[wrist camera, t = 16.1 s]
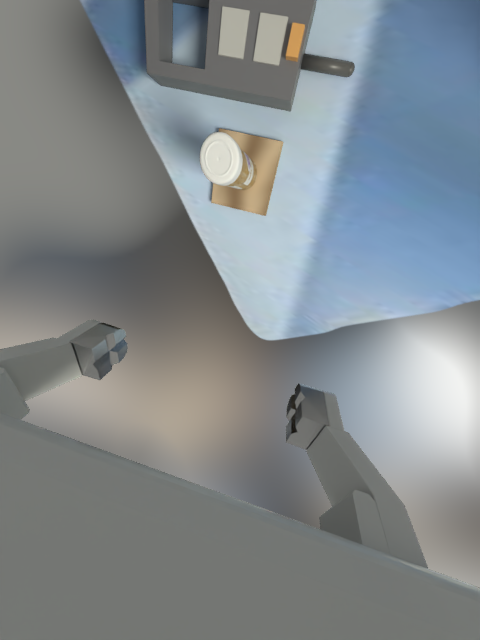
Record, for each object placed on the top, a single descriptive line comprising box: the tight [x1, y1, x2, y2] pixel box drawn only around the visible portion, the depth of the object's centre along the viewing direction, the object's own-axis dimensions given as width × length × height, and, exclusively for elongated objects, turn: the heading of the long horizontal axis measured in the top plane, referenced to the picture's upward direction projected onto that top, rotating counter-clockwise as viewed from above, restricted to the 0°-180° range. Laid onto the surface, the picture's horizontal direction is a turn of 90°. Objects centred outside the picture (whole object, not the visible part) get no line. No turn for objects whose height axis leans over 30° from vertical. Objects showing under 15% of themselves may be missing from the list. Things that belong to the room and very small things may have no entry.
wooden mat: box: [211, 128, 283, 216], centre depth 33 cm, size 10×10×1 cm
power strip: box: [144, 0, 355, 111], centre depth 25 cm, size 27×9×4 cm, turn 79°
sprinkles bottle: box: [200, 132, 257, 190], centre depth 27 cm, size 5×5×13 cm
